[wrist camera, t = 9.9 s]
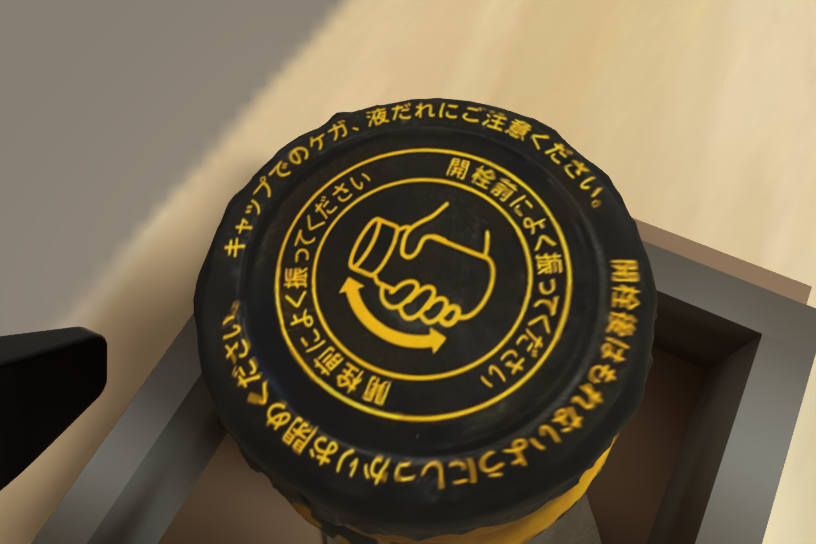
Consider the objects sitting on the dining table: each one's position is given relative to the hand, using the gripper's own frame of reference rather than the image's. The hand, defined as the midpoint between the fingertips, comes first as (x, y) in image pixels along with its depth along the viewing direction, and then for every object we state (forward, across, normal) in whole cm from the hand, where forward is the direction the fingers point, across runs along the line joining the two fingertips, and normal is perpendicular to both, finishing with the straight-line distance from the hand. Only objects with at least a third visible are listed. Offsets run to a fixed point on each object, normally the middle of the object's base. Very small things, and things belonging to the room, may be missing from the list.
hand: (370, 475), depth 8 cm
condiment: (+8, 0, +6) cm, 10 cm away
